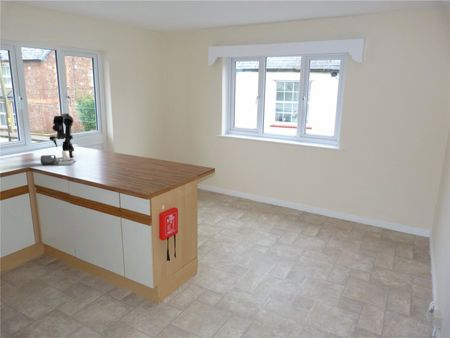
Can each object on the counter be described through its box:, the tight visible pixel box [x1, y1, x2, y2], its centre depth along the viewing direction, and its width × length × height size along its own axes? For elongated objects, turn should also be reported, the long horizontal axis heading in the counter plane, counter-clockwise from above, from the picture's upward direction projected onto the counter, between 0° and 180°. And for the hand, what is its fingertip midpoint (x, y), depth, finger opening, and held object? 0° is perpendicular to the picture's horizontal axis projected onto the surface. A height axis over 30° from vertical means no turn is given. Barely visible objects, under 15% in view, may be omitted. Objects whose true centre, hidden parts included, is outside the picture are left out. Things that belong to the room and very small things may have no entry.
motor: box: [40, 154, 77, 167], centre depth 295 cm, size 12×26×8 cm, turn 98°
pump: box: [61, 150, 71, 162], centre depth 295 cm, size 6×6×10 cm
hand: (62, 146), depth 304 cm, fingers open, 9 cm apart
